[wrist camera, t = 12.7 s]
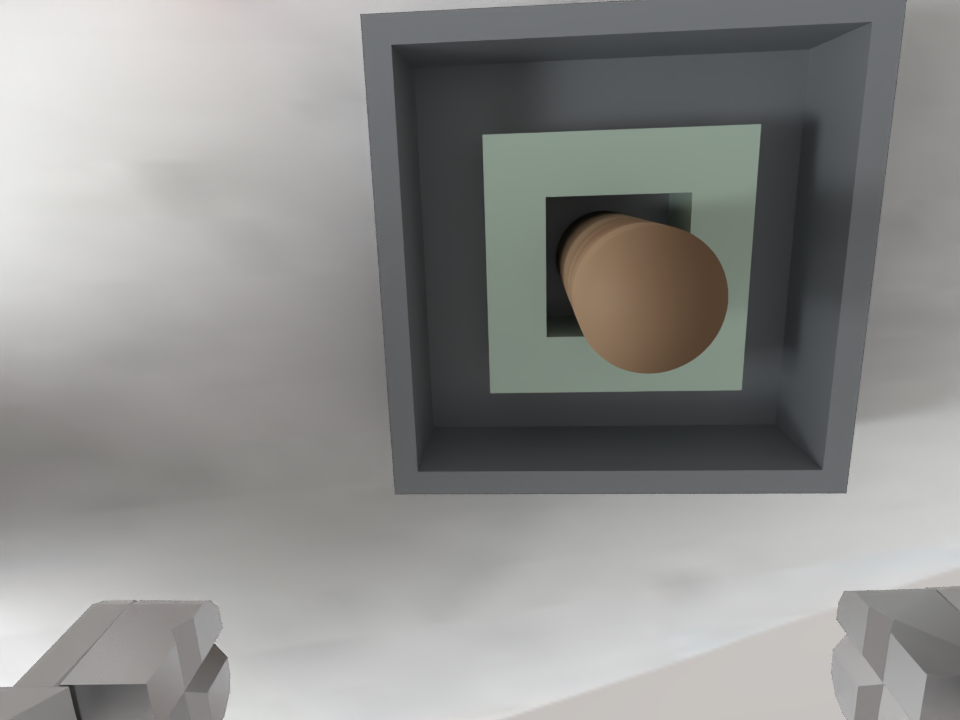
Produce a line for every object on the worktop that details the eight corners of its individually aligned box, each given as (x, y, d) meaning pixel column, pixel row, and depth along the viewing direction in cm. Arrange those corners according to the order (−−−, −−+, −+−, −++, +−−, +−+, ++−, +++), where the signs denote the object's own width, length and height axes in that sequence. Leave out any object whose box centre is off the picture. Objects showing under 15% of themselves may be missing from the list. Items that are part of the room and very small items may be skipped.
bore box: (417, 439, 33) (395, 494, 28) (393, 47, 29) (360, 14, 23) (788, 436, 32) (846, 493, 26) (826, 26, 27) (908, -14, 22)
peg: (555, 302, 30) (575, 374, 18) (556, 211, 29) (576, 226, 17) (646, 301, 30) (723, 373, 18) (649, 209, 29) (733, 223, 17)
